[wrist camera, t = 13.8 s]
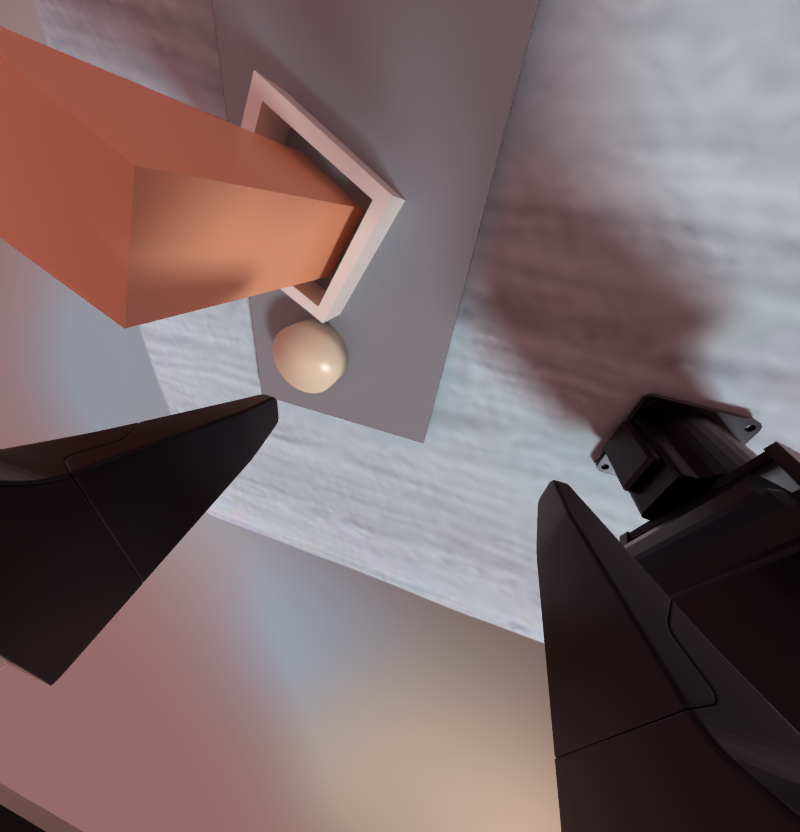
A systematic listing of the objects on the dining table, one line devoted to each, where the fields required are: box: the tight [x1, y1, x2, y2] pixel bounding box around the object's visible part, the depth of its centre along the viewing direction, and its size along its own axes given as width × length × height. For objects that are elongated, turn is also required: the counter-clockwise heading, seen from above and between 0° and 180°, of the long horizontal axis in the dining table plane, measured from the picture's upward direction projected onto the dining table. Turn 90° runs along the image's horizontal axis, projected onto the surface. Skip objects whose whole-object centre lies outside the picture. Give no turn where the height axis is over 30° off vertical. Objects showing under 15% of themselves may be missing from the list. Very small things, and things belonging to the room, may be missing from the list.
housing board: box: [212, 0, 539, 443], centre depth 17 cm, size 15×28×4 cm, turn 171°
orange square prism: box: [0, 27, 364, 328], centre depth 12 cm, size 4×4×13 cm
